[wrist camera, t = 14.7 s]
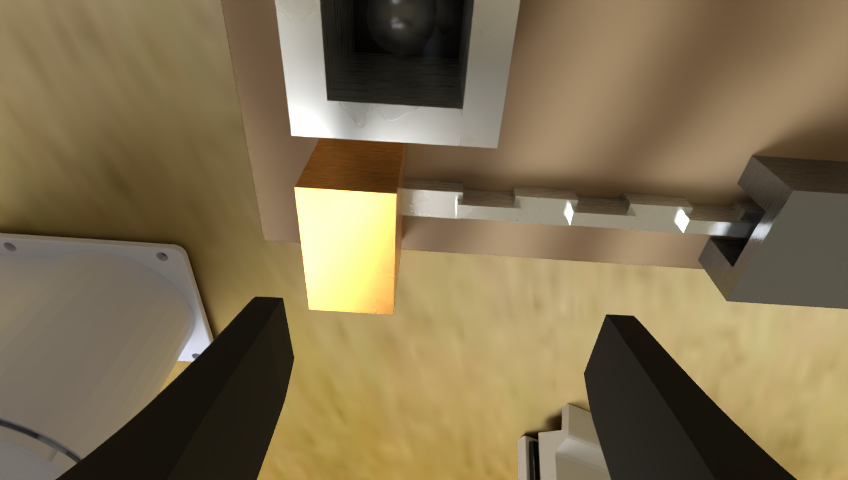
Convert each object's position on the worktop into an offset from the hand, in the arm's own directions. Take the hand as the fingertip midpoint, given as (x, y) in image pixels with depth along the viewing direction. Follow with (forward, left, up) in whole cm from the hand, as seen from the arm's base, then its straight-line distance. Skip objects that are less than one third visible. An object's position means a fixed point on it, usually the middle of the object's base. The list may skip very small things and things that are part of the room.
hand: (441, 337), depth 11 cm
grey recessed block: (-1, +6, -9) cm, 10 cm away
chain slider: (+5, -1, -9) cm, 10 cm away
